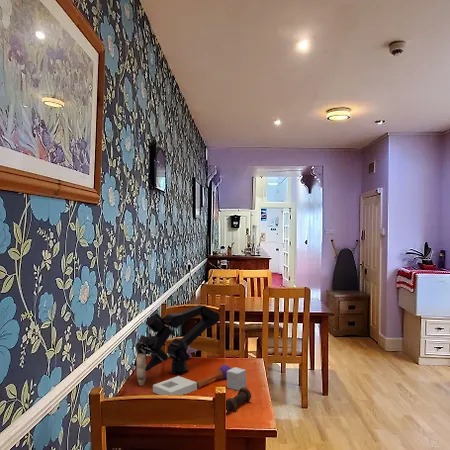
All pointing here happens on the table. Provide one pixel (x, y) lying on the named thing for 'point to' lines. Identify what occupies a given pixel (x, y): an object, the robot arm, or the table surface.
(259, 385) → the table surface
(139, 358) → the peg
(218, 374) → the kendama
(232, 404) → the bolt
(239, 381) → the product box
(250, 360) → the table surface
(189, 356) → the lily
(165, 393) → the board
